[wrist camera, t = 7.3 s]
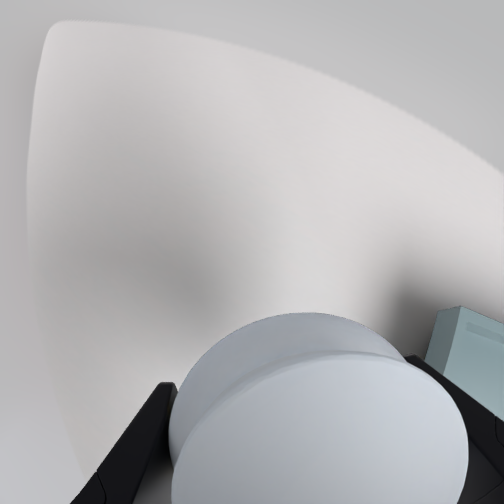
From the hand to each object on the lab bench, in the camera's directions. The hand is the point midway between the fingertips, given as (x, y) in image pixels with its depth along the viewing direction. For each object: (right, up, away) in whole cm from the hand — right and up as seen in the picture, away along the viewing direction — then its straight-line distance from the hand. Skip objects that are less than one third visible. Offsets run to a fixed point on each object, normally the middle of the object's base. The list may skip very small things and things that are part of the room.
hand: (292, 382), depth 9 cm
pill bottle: (0, -3, +6) cm, 7 cm away
